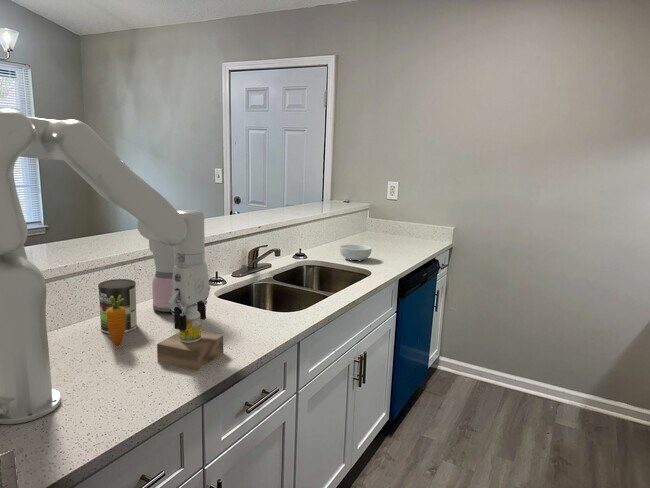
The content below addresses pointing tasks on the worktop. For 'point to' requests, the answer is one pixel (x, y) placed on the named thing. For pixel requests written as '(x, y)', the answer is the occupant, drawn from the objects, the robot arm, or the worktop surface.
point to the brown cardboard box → (190, 351)
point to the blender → (162, 275)
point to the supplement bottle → (191, 325)
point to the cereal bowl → (355, 251)
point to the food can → (115, 289)
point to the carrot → (116, 321)
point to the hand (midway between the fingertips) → (190, 323)
